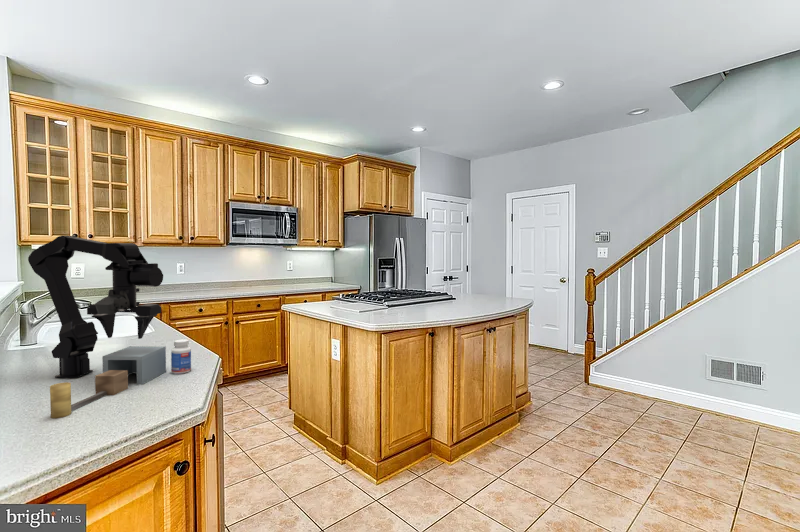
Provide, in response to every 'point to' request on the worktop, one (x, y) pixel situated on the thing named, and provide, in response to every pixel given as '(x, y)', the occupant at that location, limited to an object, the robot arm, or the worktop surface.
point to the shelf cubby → (138, 361)
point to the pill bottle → (181, 357)
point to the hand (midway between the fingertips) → (125, 338)
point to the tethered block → (104, 385)
